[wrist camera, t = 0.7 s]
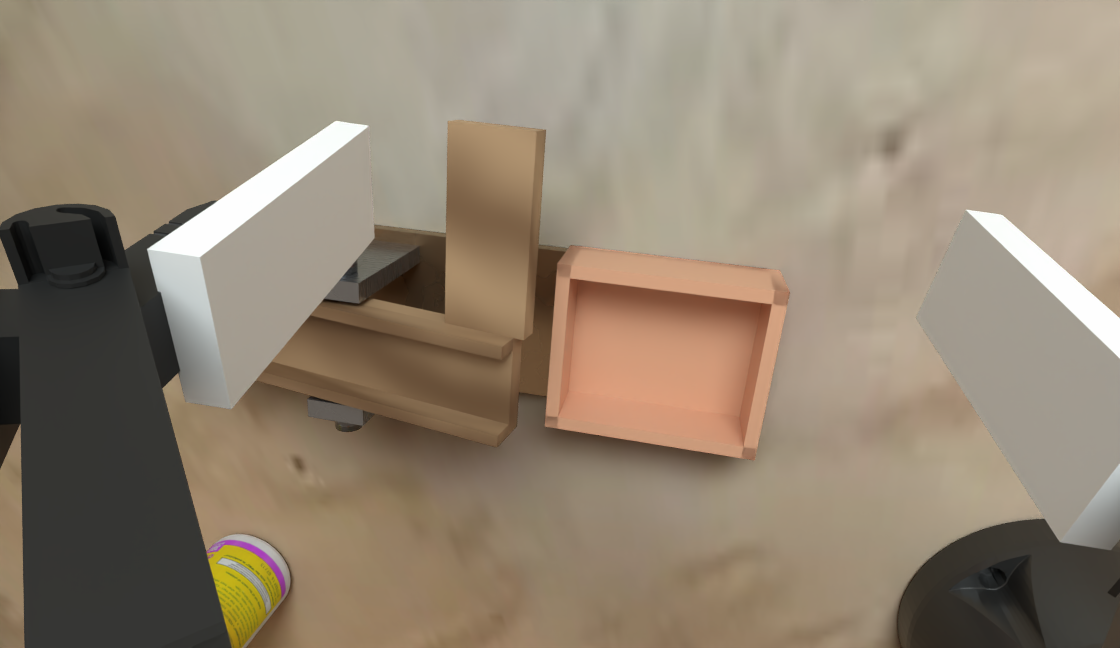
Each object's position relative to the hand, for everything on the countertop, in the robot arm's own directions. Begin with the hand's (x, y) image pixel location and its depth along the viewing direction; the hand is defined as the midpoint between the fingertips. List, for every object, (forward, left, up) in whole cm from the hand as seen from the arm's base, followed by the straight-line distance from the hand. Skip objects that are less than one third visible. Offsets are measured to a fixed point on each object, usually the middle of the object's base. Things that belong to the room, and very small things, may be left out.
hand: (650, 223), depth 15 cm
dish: (-11, -1, -21) cm, 24 cm away
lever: (-6, +15, -15) cm, 22 cm away
